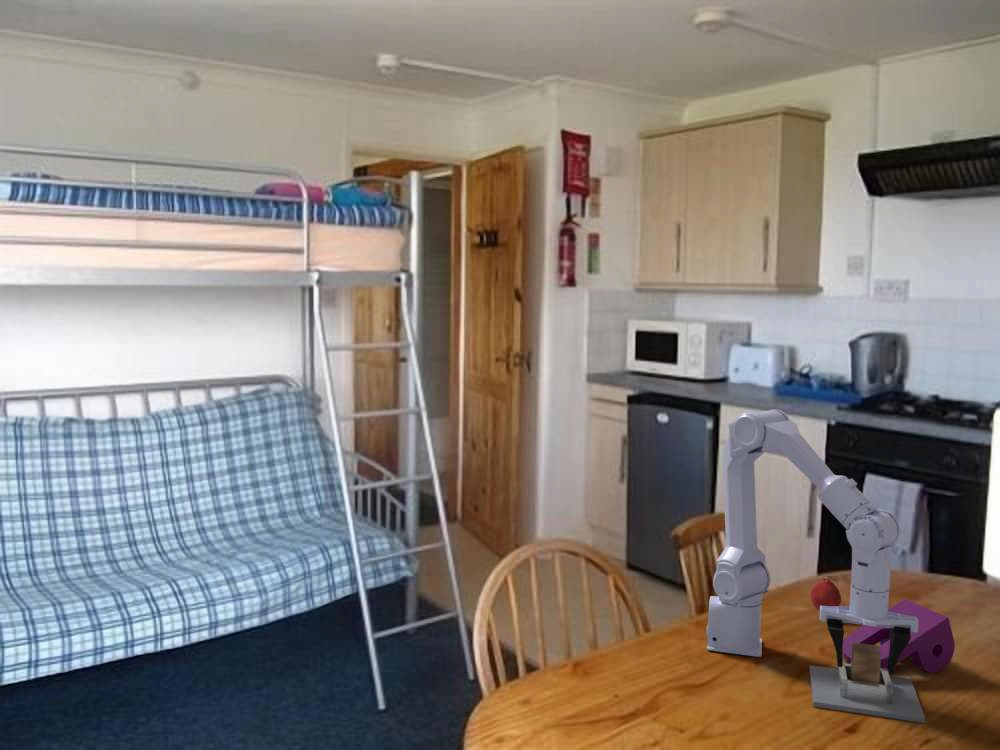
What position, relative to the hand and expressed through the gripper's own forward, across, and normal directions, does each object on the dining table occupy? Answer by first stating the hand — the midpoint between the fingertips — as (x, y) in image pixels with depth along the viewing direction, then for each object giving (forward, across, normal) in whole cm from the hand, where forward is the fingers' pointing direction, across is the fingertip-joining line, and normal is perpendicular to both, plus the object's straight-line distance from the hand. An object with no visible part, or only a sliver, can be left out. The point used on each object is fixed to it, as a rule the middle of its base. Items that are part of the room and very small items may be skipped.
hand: (864, 668), depth 140 cm
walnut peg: (+4, 0, 0) cm, 4 cm away
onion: (+5, -4, +35) cm, 36 cm away
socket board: (+4, 0, 0) cm, 4 cm away
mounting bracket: (+4, +6, +13) cm, 15 cm away
